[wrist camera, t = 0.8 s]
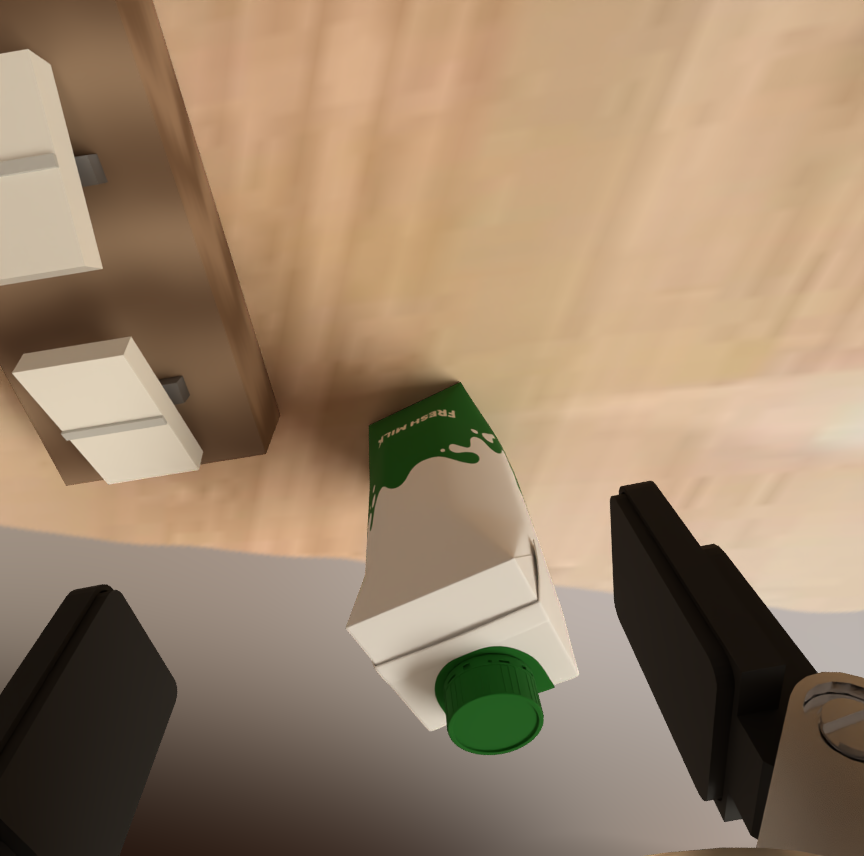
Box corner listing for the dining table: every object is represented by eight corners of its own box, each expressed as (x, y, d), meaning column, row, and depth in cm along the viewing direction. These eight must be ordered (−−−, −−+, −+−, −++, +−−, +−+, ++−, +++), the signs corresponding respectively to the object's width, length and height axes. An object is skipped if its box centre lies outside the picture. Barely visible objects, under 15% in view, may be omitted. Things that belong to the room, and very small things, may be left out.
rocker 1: (-71, 85, 24) (-105, 68, 23) (50, 64, 24) (24, 46, 22) (-11, 287, 26) (-40, 285, 24) (102, 269, 26) (82, 265, 24)
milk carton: (410, 513, 43) (425, 789, 25) (349, 418, 39) (315, 667, 21) (518, 465, 41) (614, 721, 24) (466, 362, 37) (536, 578, 20)
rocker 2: (23, 353, 27) (10, 375, 26) (131, 336, 27) (122, 357, 26) (115, 465, 33) (107, 487, 32) (203, 451, 33) (198, 472, 32)
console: (-238, -235, 23) (-424, -340, 18) (64, -287, 23) (-34, -409, 18) (98, 444, 38) (51, 496, 33) (280, 415, 38) (262, 462, 33)
